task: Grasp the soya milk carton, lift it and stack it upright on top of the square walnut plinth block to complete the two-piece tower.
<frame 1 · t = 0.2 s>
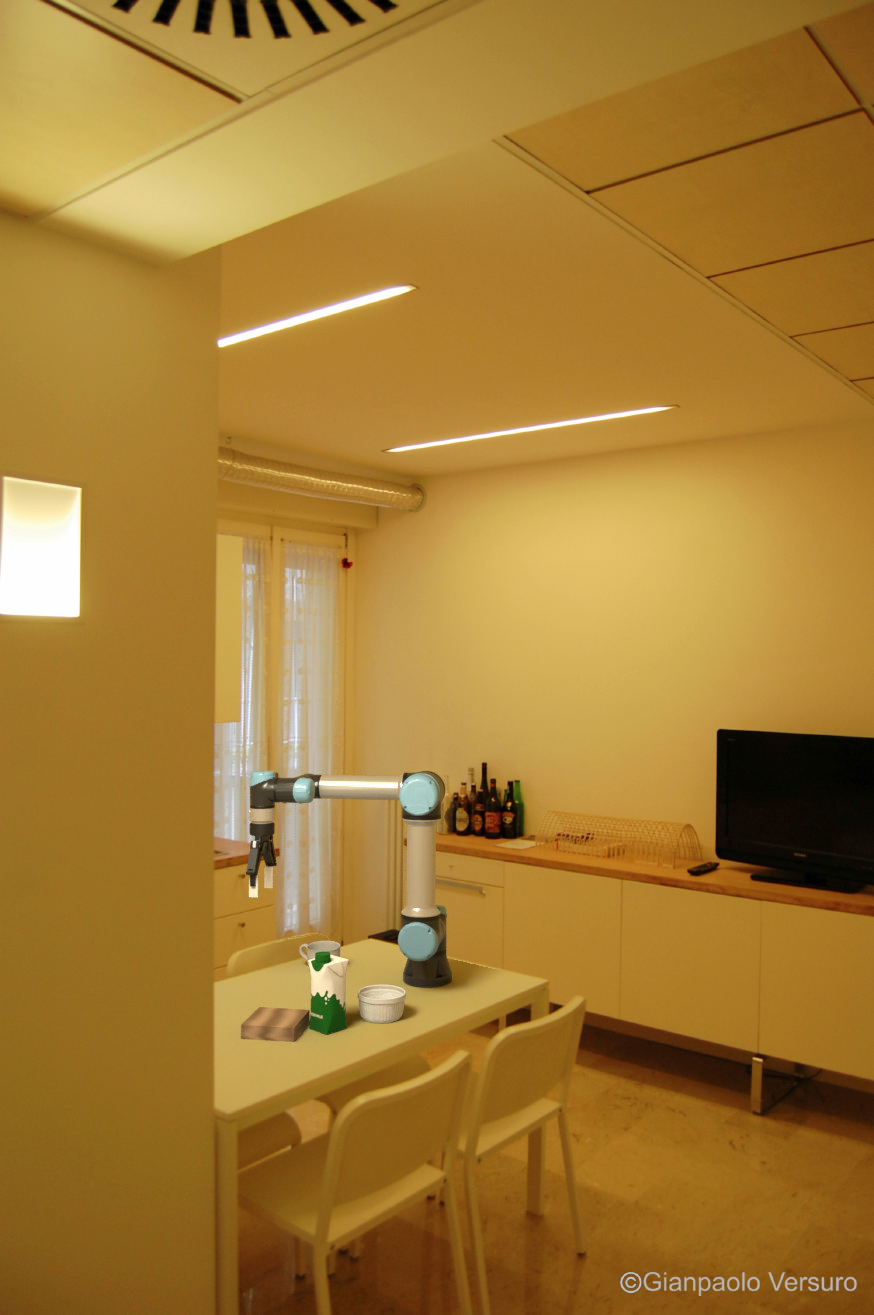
hand: (261, 892, 290), 28 cm above the table, fingers open, 13 cm apart
plinth: (276, 1032, 250), on the table
ramekin: (381, 1018, 261), on the table
teacup: (319, 970, 306), on the table
soya milk: (328, 1029, 252), on the table
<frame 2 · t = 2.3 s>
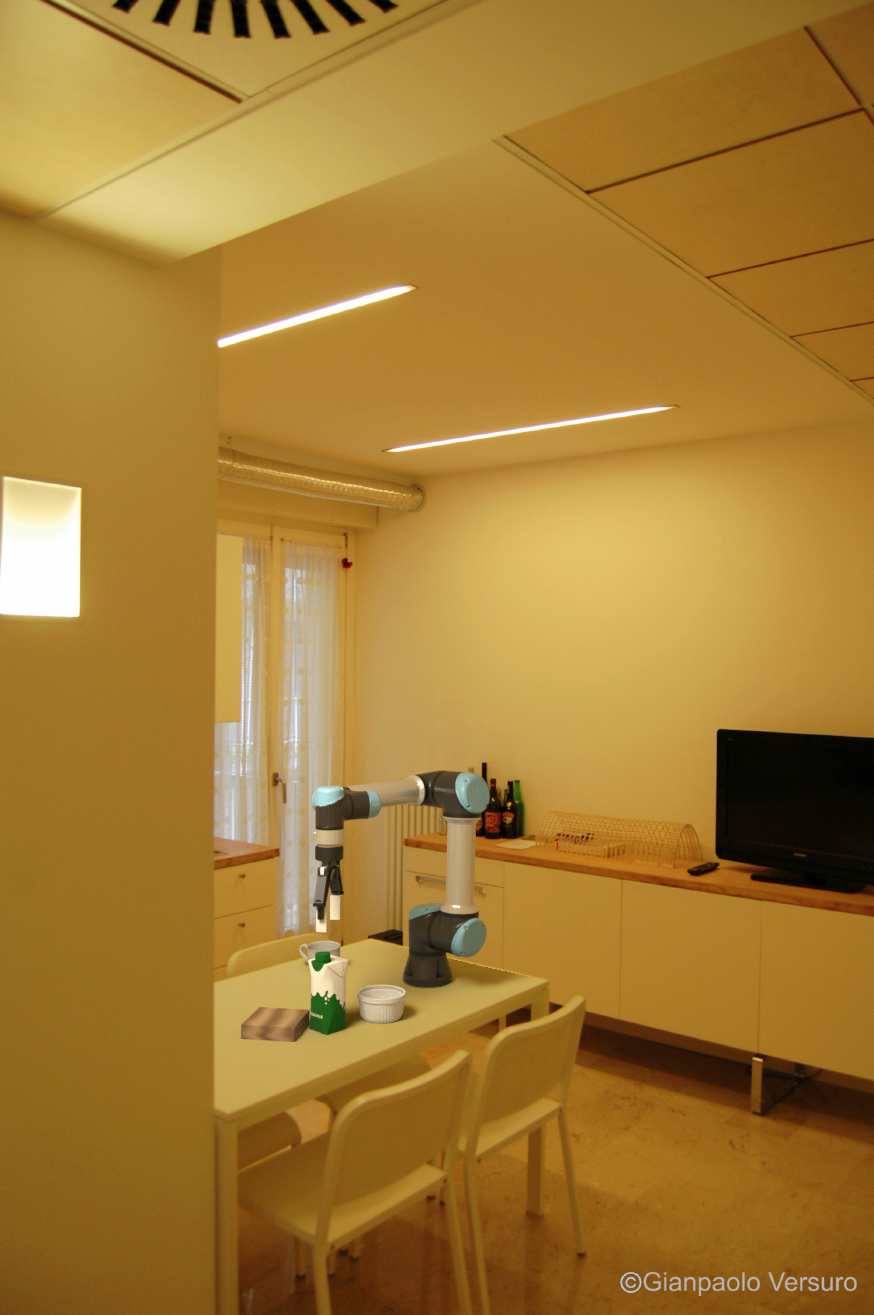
hand: (328, 925, 254), 27 cm above the table, fingers open, 13 cm apart
nothing on the table moved.
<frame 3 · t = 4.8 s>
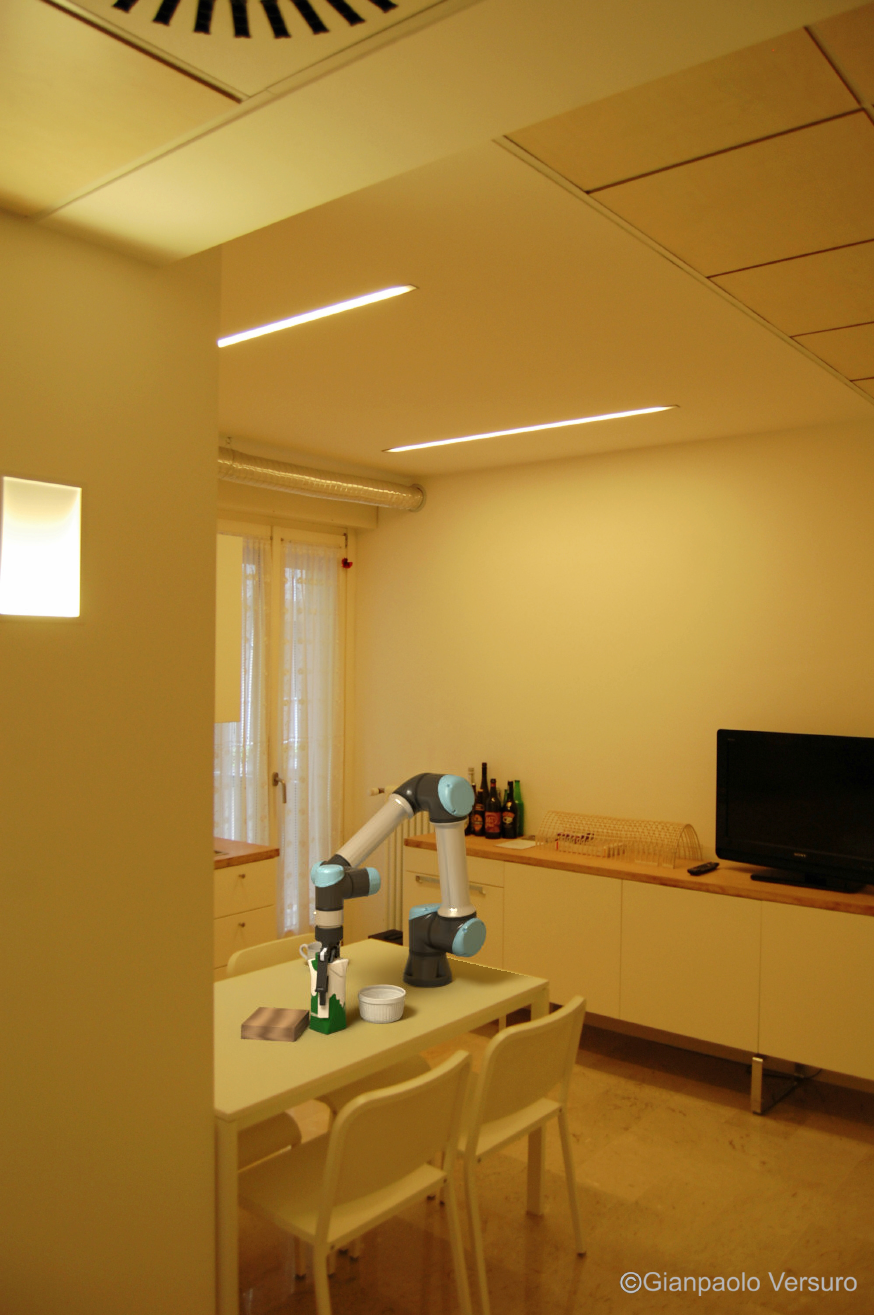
hand: (328, 1011, 253), 5 cm above the table, fingers closed on soya milk, 9 cm apart
soya milk: (328, 1029, 252), on the table, touching gripper
everything else where it was.
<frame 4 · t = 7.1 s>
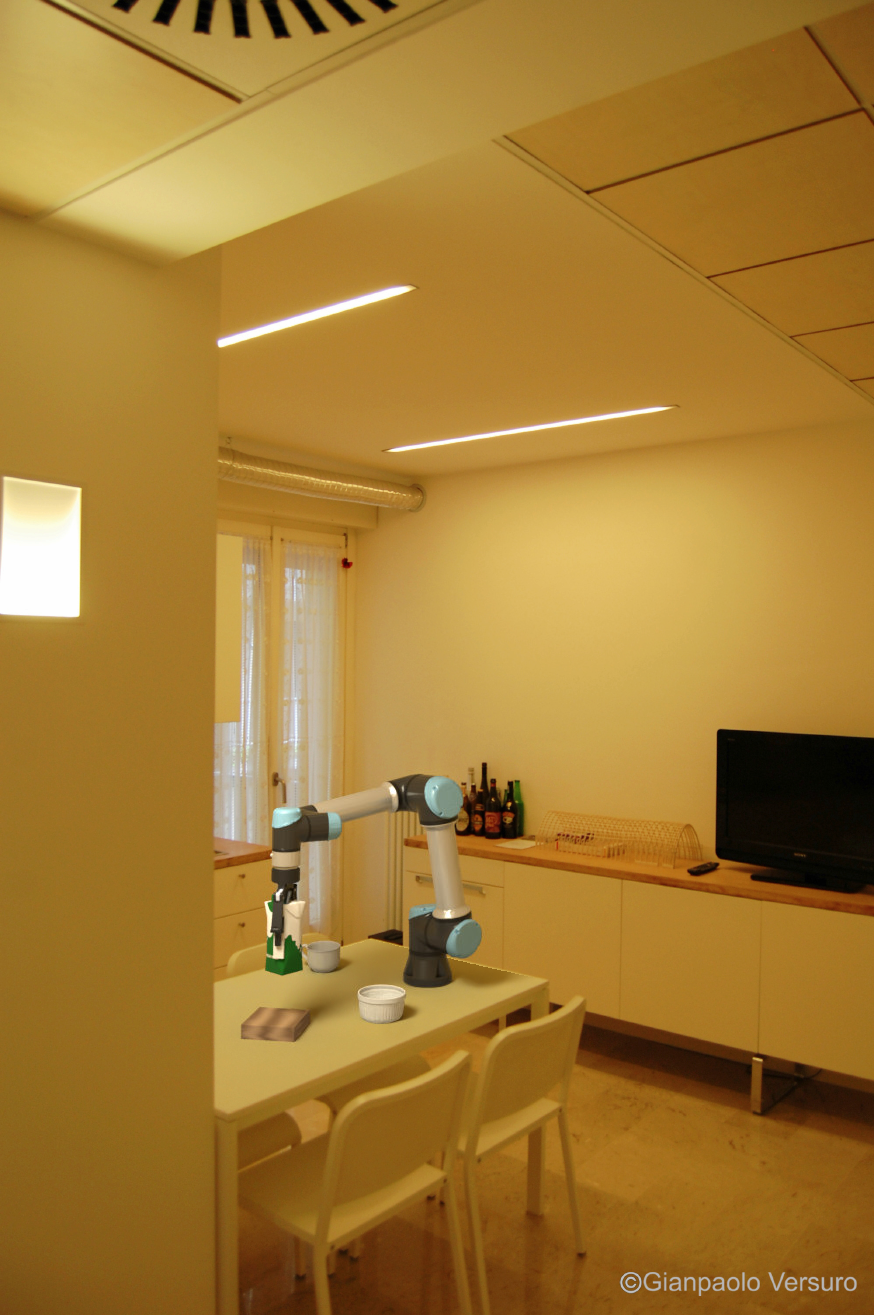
hand: (284, 953, 251), 20 cm above the table, fingers closed on soya milk, 9 cm apart
soya milk: (284, 971, 251), point 15 cm above the table, touching gripper
everything else where it was.
when the fingers open (10 cm above the table, at t = 9.6 s): soya milk drops 2 cm, resting on plinth.
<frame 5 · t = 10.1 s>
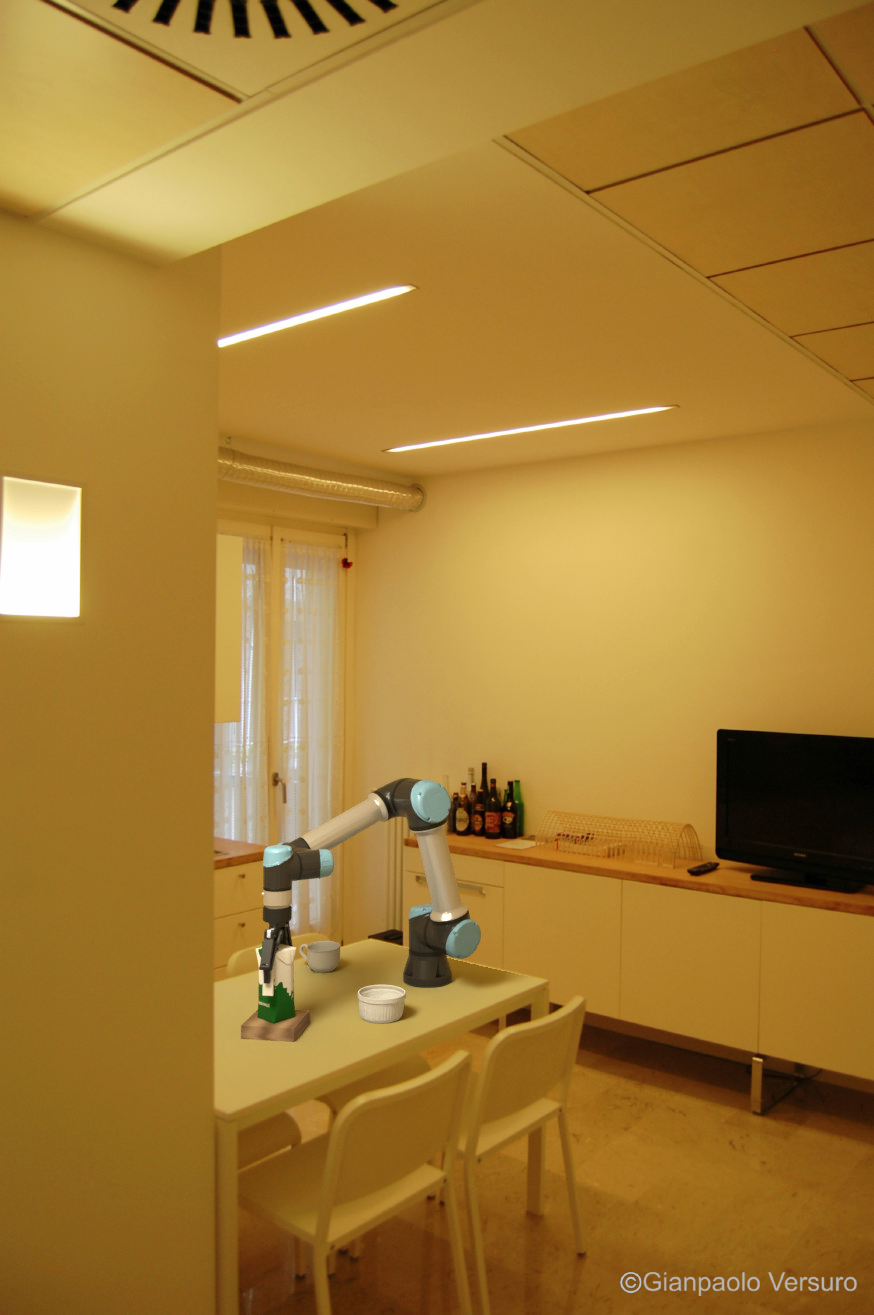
hand: (276, 987, 251), 11 cm above the table, fingers open, 13 cm apart
plinth: (276, 1033, 250), on the table, touching soya milk
soya milk: (276, 1018, 251), point 3 cm above the table, touching plinth
everything else where it was.
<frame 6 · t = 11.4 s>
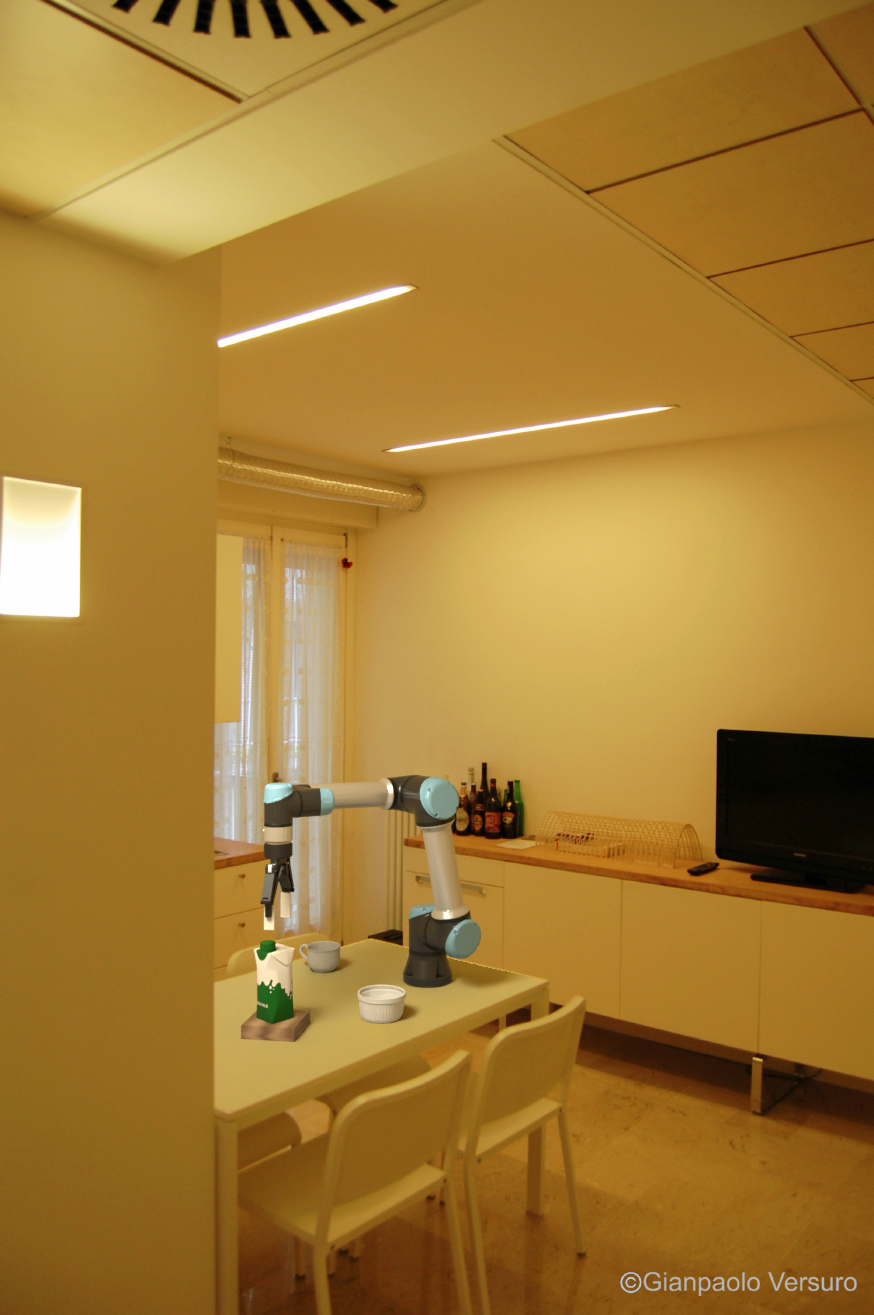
hand: (277, 923, 252), 28 cm above the table, fingers open, 13 cm apart
nothing on the table moved.
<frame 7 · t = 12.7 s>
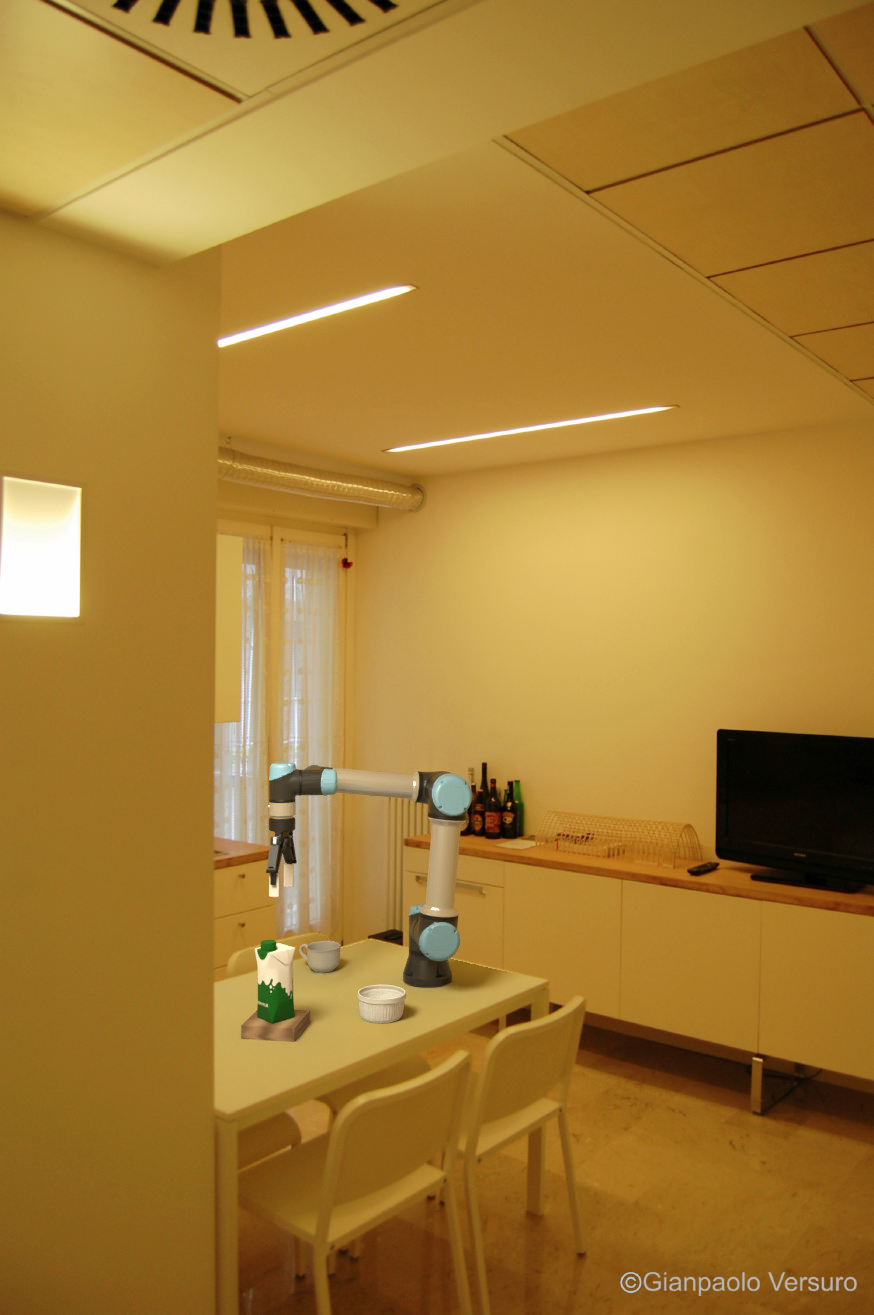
hand: (281, 891, 274), 32 cm above the table, fingers open, 13 cm apart
plinth: (276, 1033, 250), on the table
soya milk: (276, 1018, 251), point 3 cm above the table
everything else where it was.
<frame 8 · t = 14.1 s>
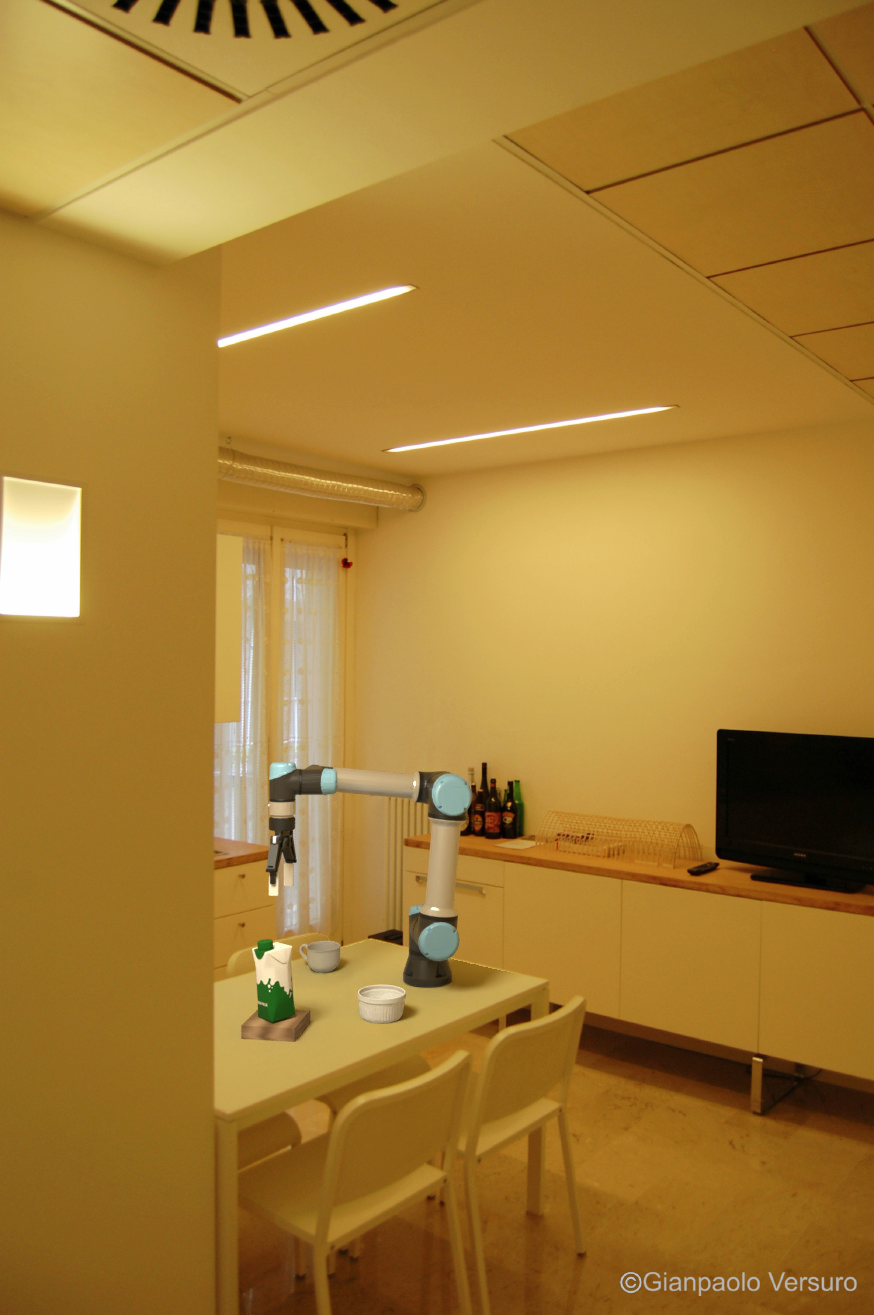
hand: (281, 890, 274), 32 cm above the table, fingers open, 13 cm apart
plinth: (276, 1033, 250), on the table, touching soya milk
soya milk: (276, 1017, 251), point 4 cm above the table, touching plinth
everything else where it was.
at the end: soya milk inside the target area on the plinth (0.1 cm from its centre), point 4.2 cm above the plinth's base; soya milk tilted 4°; the gripper is holding nothing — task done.
